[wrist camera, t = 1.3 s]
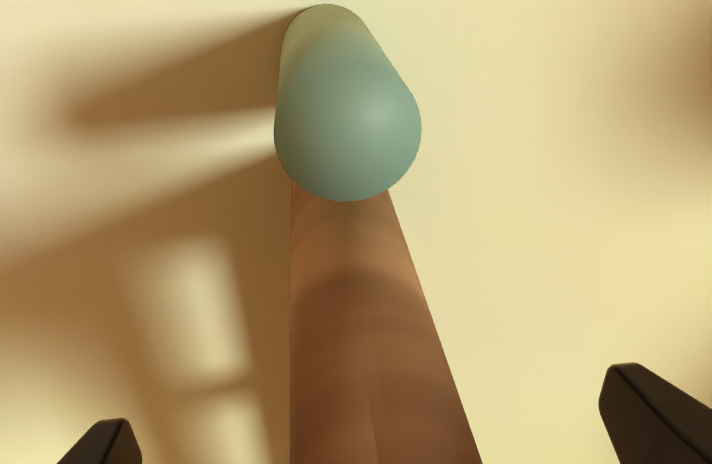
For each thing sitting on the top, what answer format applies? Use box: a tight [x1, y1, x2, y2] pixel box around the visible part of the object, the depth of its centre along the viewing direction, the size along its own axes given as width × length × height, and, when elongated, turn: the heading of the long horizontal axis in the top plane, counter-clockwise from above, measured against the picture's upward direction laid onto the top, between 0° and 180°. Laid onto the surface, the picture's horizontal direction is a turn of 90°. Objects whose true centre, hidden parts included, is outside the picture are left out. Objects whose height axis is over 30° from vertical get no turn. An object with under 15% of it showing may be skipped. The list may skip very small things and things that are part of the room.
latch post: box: [274, 4, 421, 202], centre depth 11 cm, size 2×2×6 cm
